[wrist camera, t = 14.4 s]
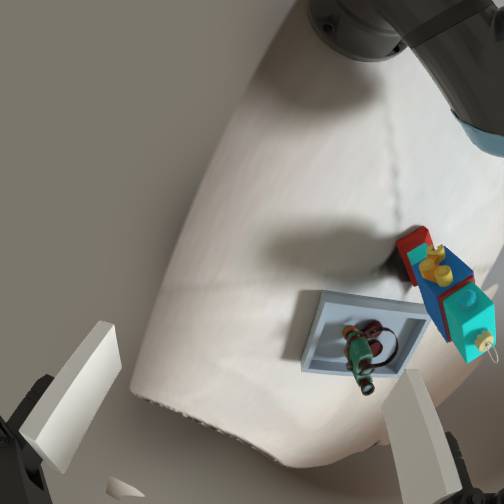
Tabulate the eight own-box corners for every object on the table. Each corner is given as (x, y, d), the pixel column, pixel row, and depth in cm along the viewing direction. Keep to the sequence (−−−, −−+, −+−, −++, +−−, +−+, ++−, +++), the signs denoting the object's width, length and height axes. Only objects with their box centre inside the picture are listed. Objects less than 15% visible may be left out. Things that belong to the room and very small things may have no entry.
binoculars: (410, 384, 39) (354, 403, 40) (388, 346, 49) (339, 361, 50) (416, 346, 36) (352, 367, 37) (389, 308, 46) (335, 324, 46)
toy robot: (438, 273, 43) (517, 372, 20) (410, 290, 44) (476, 401, 22) (419, 216, 39) (523, 302, 17) (387, 235, 41) (473, 339, 18)
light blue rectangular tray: (322, 290, 46) (325, 301, 42) (425, 304, 45) (433, 315, 42) (300, 358, 52) (301, 371, 48) (394, 365, 51) (399, 377, 48)
